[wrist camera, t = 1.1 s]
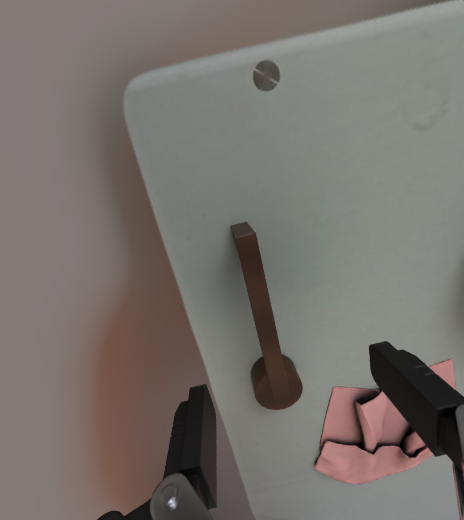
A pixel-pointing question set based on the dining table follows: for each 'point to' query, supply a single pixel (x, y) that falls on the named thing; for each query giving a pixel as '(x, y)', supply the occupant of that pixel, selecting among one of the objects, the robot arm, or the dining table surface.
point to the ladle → (265, 330)
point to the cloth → (370, 434)
